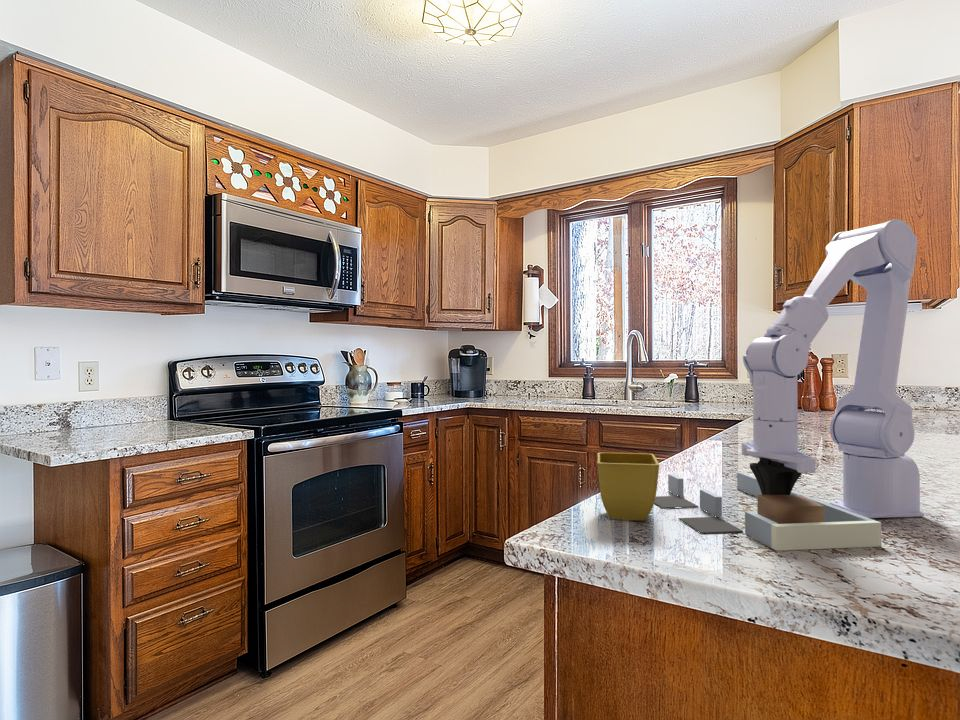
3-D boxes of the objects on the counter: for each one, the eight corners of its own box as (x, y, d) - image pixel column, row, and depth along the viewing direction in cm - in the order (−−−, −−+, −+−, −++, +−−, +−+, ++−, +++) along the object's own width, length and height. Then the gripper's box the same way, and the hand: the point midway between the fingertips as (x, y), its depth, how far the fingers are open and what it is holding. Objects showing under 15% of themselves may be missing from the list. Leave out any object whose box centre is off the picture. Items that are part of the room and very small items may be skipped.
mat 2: (717, 518, 85) (717, 516, 85) (743, 532, 78) (743, 530, 78) (678, 519, 84) (678, 518, 84) (701, 533, 78) (701, 532, 78)
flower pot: (660, 526, 81) (659, 463, 81) (597, 523, 83) (597, 462, 83) (654, 510, 90) (653, 453, 90) (597, 507, 92) (597, 452, 92)
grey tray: (742, 488, 104) (742, 472, 104) (875, 543, 73) (875, 520, 73) (668, 490, 102) (668, 474, 102) (771, 548, 72) (771, 524, 72)
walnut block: (801, 526, 80) (801, 494, 80) (824, 540, 74) (824, 506, 74) (757, 526, 81) (757, 494, 81) (776, 539, 75) (776, 505, 75)
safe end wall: (875, 543, 73) (875, 520, 73) (881, 546, 72) (881, 522, 72) (771, 548, 72) (771, 524, 72) (776, 550, 71) (776, 526, 71)
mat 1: (679, 496, 98) (679, 495, 98) (698, 507, 91) (698, 506, 91) (645, 497, 97) (645, 496, 97) (662, 508, 90) (662, 507, 90)
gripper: (722, 414, 89) (723, 501, 89) (779, 425, 75) (780, 529, 75) (765, 414, 90) (766, 500, 90) (830, 424, 75) (830, 527, 75)
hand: (775, 513), depth 82 cm, fingers closed
